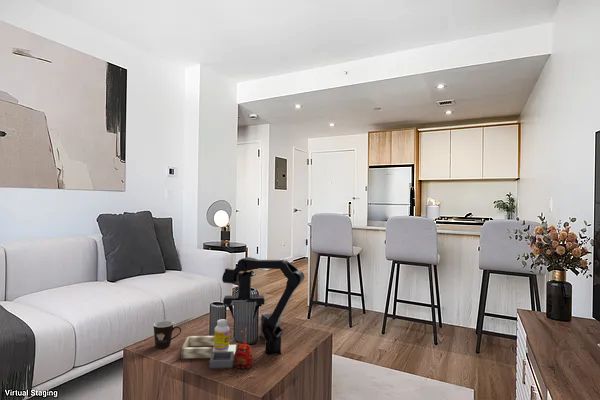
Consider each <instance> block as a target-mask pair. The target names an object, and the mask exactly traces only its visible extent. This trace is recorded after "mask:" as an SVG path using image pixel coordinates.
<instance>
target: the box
mask: <svg viewBox="0 0 600 400" xmlns="http://www.w3.org/2000/svg"><path fill="white" fill-rule="evenodd" d="M269 314H271V315H272V314H273V312H272V313H271V312H270V313H262V314H261V317H260V320H261V321H260V333H259V334H260V336H261V337H262V338H263V339H264V340H266V339H265V336H264V334H263V332H262V326H263V325H262V324H263V323H264V320H265V318H266V317H267V316H268V315H269Z"/></svg>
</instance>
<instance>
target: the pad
mask: <svg viewBox="0 0 600 400" xmlns="http://www.w3.org/2000/svg"><path fill="white" fill-rule="evenodd" d="M236 349H237V344H229V349H228V350H227V351H234V355H235V352H236ZM212 352H217V351H215V350H214V347H212Z"/></svg>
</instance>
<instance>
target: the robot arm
mask: <svg viewBox="0 0 600 400" xmlns="http://www.w3.org/2000/svg"><path fill="white" fill-rule="evenodd" d="M236 264H237V265H236V267H235V268H229V267H227V268H224V272H223V274H222V277H221V278H222V282H223V284H230V285H237V283H238V286H235V294H236V293H237V292H238V294H237V297H233V295H224V297H223V300H222V305H224V306H226V307H228V309H229V311H230V314H231V317H232V319H233V320H234V319H235V311H234V310H235V309H234V303H254V307H255V308H253V314H252V320H253V319H255V317H256V315H257V312H258V310H259V308H260V307H262V305H265V303H266V301H265V296H264V295H258V296H259V297H256V296H255V297H252V296H251V295H252V293H251V292H252V290H251V289H252V288H251V287H252V278H253V277H255V276H256V273H255V272H254V271H253V270H257V269H259V270H263V269H264V270H265V269H266V270H270V269H271V270H281V272H282V273H283V275H284V277H285V278H286V279H287V280H286V285H285V289H284V290H283V293H282V295H281V296H280V299H279V300H278V303H277V304H276V306H275V308H274V310H273V312H272V313H273V314H272V315H271V314H270V313H268V314H269V315H268V316H267V317H266V318H265V320H264V323H263V324H262V325H263V326H262V332H263V334H264V336H265V339H264V341H265V345H264V347H265V348H264V351H265V352H266V353H265V354H266V355H281V354H282V349H281V348H282V335H283V332H284V330H283V329H282V328H281V327H280V323H281V318H282V315H283V314H284V312H285V309H286V308H287V306H288V304H289V302H290V301H291V299H292V297H293V295H294V293H295V292H296V290H297V289H298V288H299V286H300V285H301V284H302V283H303V282H304V280H305V274H304V272H303V271H301V270H299V269H298V268H297V267H296V266H295V265H293V264H292V263H291V262H289V260H288V259H284V258H283V259H258V258H254V257H251V256H250V257H249V256H246V257H243V258H240V259H239V260H238V262H237V263H236ZM237 290H238V291H237ZM236 291H237V292H236Z"/></svg>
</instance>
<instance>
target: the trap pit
mask: <svg viewBox="0 0 600 400" xmlns="http://www.w3.org/2000/svg"><path fill="white" fill-rule="evenodd" d="M234 359H235V358H234V351H224V352H213V351H212V355H211V358H209V364H208V365H209V370H213V369H217V370H218V369H219V370H220V369H233V365H234Z"/></svg>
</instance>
